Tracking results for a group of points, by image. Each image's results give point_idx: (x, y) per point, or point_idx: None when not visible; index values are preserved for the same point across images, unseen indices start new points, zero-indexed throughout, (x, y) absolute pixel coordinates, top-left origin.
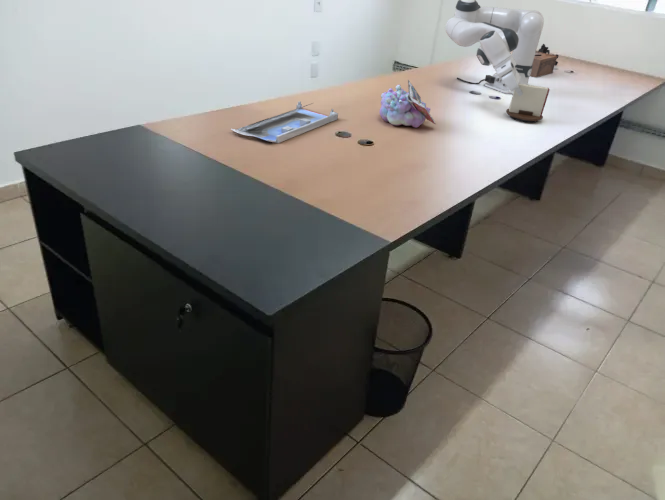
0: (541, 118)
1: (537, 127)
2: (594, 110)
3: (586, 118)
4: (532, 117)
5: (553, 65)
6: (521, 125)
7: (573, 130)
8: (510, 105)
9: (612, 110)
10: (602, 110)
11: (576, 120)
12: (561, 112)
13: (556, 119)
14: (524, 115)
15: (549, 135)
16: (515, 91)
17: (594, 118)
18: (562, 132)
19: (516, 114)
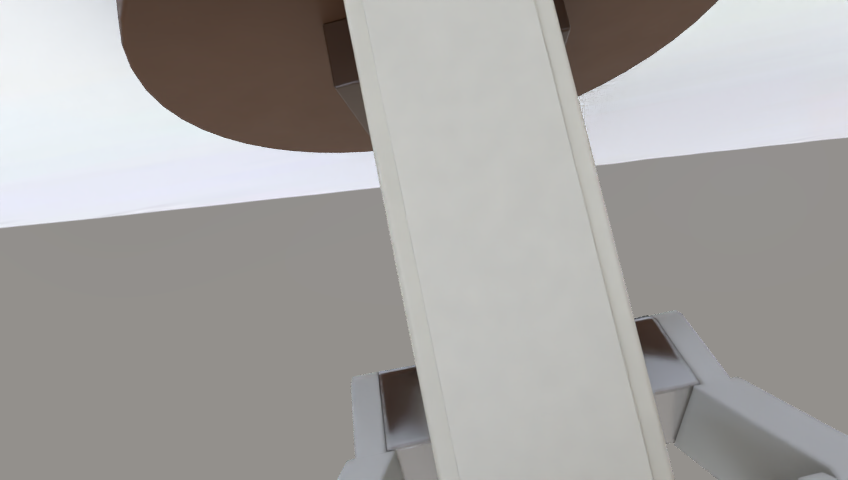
0: (362, 151)
1: (179, 122)
2: (843, 121)
3: (673, 143)
4: (314, 126)
5: None
6: (6, 48)
7: (368, 182)
8: (367, 30)
9: (838, 137)
10: (841, 129)
11: (611, 141)
12: (799, 79)
13: (583, 108)
14: (316, 79)
15: (49, 192)
16: (442, 469)
17: (683, 150)
18: (253, 184)
19: (248, 17)
